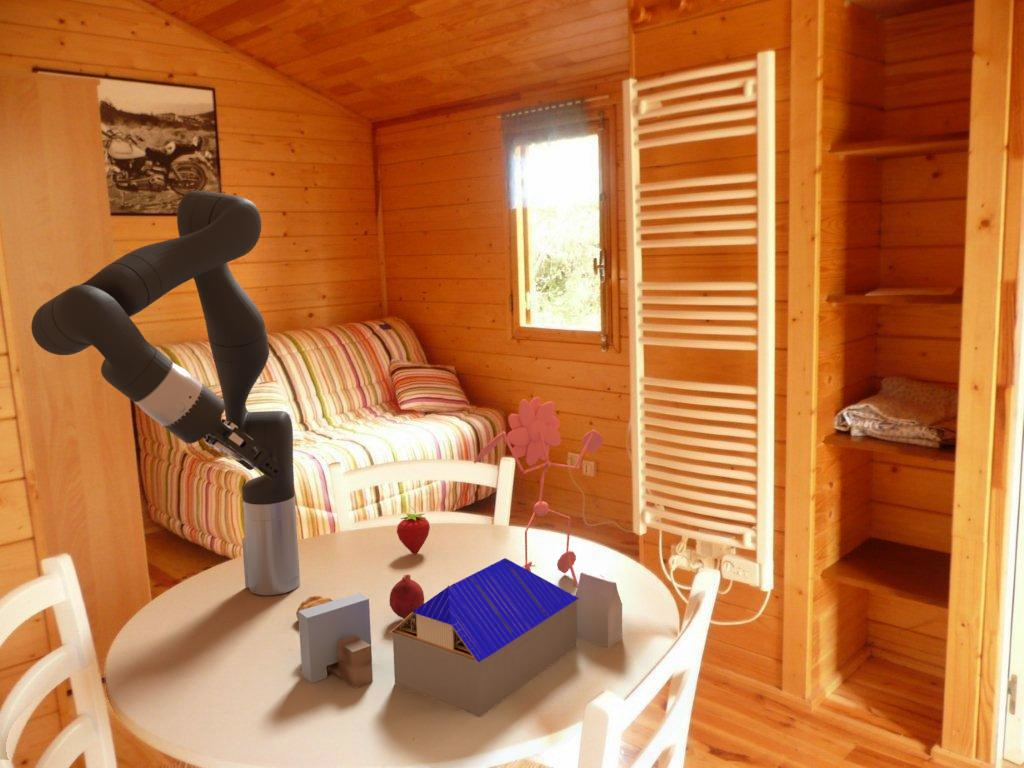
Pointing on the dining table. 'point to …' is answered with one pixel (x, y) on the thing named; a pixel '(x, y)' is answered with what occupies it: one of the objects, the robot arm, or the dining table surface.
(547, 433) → the figurine
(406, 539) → the strawberry
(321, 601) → the pastry
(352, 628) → the grey notched square slab
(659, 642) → the dining table surface
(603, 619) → the grey house-shaped block
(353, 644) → the walnut blocks
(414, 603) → the onion
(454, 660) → the house
